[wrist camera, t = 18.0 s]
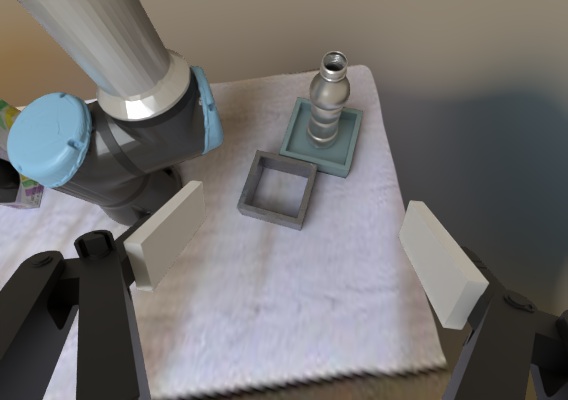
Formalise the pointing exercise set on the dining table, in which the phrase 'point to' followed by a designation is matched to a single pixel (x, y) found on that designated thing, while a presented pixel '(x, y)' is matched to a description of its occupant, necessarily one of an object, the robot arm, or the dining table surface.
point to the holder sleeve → (278, 164)
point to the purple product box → (5, 178)
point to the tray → (327, 159)
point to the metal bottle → (327, 100)
